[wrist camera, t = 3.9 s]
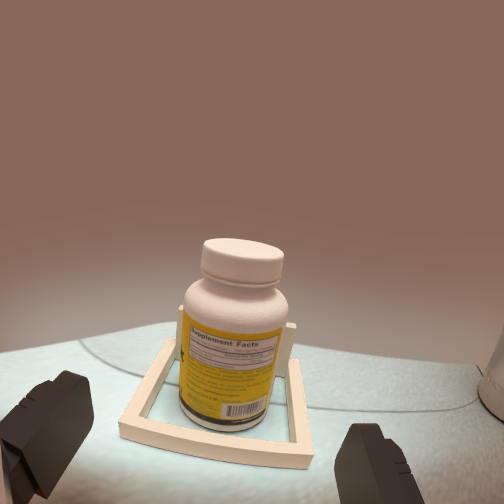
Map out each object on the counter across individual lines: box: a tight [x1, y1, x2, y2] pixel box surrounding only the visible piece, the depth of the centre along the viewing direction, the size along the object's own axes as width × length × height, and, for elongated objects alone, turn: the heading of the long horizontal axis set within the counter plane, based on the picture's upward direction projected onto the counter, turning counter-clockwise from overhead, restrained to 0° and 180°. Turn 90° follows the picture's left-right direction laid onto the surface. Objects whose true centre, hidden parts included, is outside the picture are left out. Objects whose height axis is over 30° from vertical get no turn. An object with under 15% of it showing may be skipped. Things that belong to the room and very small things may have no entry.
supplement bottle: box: [179, 238, 288, 431], centre depth 17 cm, size 5×5×10 cm
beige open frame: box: [118, 305, 314, 469], centre depth 18 cm, size 10×10×4 cm
